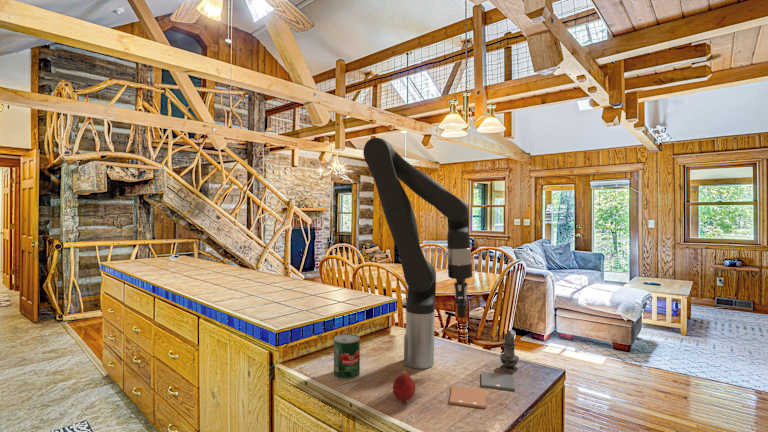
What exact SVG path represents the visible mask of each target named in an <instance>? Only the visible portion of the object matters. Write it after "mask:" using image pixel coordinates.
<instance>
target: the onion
mask: <svg viewBox="0 0 768 432" xmlns="http://www.w3.org/2000/svg"><path fill="white" fill-rule="evenodd" d="M392 392H393V394H394V397H395V398H396V399H397V400H398V401H400V402H401V403H408V401H410V400H411V399H412V398H413V397H414V395H415V393H416V384H415V382H414V380H413V378H411V377H410V376H409V375H408V372H407V371H406V370H405V371H404V370H403V371H402V373H401V374H400V375H399V376H397V377H396V378H395V380H394V381H393V384H392Z"/></svg>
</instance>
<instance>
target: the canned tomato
mask: <svg viewBox="0 0 768 432" xmlns="http://www.w3.org/2000/svg"><path fill="white" fill-rule="evenodd" d="M360 343H361V337H360V336H359V335H357V334H353V333H352V334H351V333H342V334H339V335H335V336H334V338H333V377H334V378H336V379H339V380H344V381H346V380H347V381H348V380H353V379H354V380H355V379H357V378H358V377H359V376H360V374H361V373H360V372H361V370H360V369H361V367H360V366H361V365H360V363H361V362H360V359H361V358H360V357H361V355H360V354H361V351H360V350H361V344H360Z"/></svg>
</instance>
